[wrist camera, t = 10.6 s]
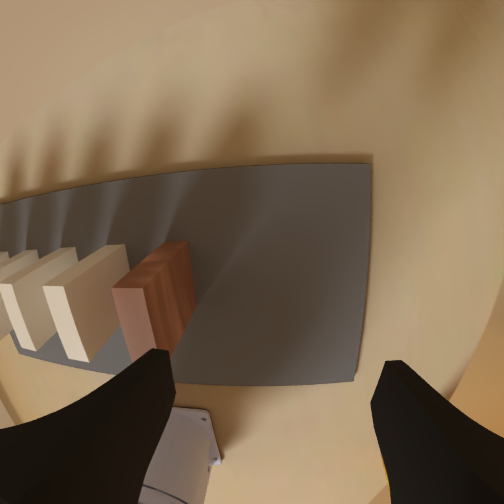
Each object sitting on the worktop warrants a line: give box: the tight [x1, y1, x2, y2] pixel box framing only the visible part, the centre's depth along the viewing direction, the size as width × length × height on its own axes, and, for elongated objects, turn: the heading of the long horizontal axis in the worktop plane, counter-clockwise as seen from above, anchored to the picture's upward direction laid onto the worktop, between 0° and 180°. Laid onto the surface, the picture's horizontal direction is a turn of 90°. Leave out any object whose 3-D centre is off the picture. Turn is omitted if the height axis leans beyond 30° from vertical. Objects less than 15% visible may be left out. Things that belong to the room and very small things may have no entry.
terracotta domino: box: [111, 241, 197, 363], centre depth 16 cm, size 2×4×7 cm, turn 4°
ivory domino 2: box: [0, 247, 78, 351], centre depth 17 cm, size 2×4×7 cm, turn 4°
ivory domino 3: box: [43, 244, 130, 363], centre depth 16 cm, size 2×4×7 cm, turn 4°
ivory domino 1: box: [0, 249, 39, 340], centre depth 17 cm, size 2×4×7 cm, turn 3°
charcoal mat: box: [0, 163, 371, 386], centre depth 20 cm, size 16×34×1 cm, turn 94°
